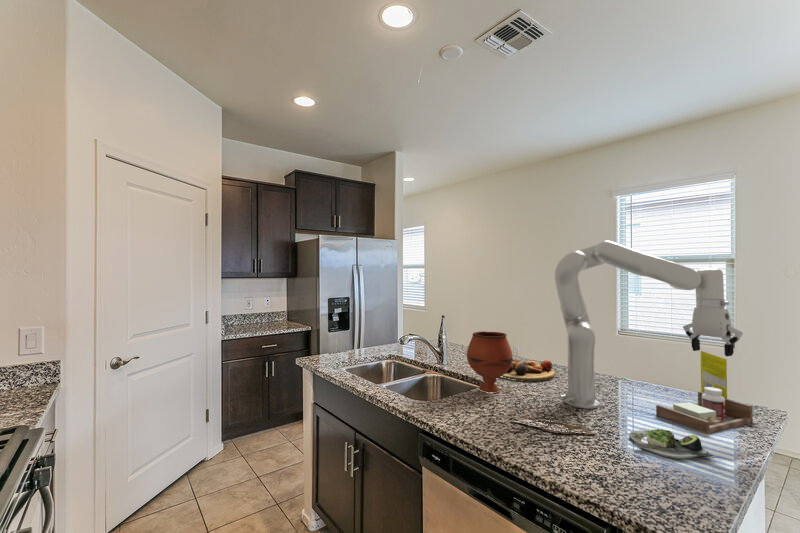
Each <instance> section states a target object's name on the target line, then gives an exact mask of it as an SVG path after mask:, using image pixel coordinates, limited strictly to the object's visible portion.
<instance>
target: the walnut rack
mask: <svg viewBox="0 0 800 533" xmlns="http://www.w3.org/2000/svg"><path fill="white" fill-rule="evenodd" d="M702 394H704V393H703V392H701V391H697V402H696V403H693V404H696V405H699V406H702ZM724 399H725V398H724ZM672 408H673V407H670V408H669V407H667V406H663V405H662V404H661V405H660V404H656V405H655V409H656V410H655V412H656V414H655V415H656V417H657V416H658V417H660V418H663V419H665V420H668V421H671V422H672V423H673V422H674V423H677V424H679V425H682V426H685V427H688V428H691V429H693V430H696V431H697V432H698V431H699V432H701V433H704V434H712V433H716V432H720V431H724V430H727V429H731V428H735V427H740V426H744V425H748V424H753V423H754V422H753V419H754V418H753V417H754V416H753V405H750V404H747V403H744V402H739V401H736V400H733V399H730V398H729V399H728V398H727V399H725V417H730V418H733V420H732V419H731V420H727V421H724V422H721V423H718V424H714V425H710V422H709V421H706V420H703V419H700V418H697V417H694V416H691V415H688V414H685V413H682V412H679V411H676V410H673V409H672Z"/></svg>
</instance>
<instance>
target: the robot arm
mask: <svg viewBox="0 0 800 533" xmlns="http://www.w3.org/2000/svg"><path fill="white" fill-rule="evenodd" d="M604 264H606V265H610V266H613V267H615V268H618V269H619V270H623V271H626V272H628V273H631V274H634V275H637V276H641V277H646V278H651V279H654V280H658V281H660V282H663V283H666V284H668V285H669V286H670V287H672V288H673V289H676V290H682V291H693V290H695V304H696V306H695V307H693V308H694V309H693V312H692V319H691V320H692V321H691V323H688V324H686V325H683V326H682V328H683V330H684V332H685V334H686V335H687V337H689V338H688V339H690V340H691V348H692V351H693V352H699V351H701V343H700V342H701V341H700V337H701V336H703V337H710V338H718V339H719V338H720V339H722V340H723V341H724V342H725V343H724V347H723V348H724V350H723V351H724V356H725V357H732V356H733V355H734V352H735V351H734V345H735V344H736V343H737V342H738V341H739V340H740V339H741V337H742V336H743V334H744V333H743V332H742V331H741V330H739V329H737V328H736V327H733V325H732V319H731V315H730V312H729V309H728V308H726V306H730V303H729V301H726V299H725V292H724V290H725V288H724V287H725V286H724V272H723V270H722V269H719V268H699V269H693V268H691V267H687V266H685V265H682V264H680V263H677V262H673V261H671V260H668V259H664V258H661V257H658V256H655V255H652V254H650V253H645V252H643V251H640V250H637V249H634V248H631V247H629V246H625V245H623V244H620V243H618V242H614V241H611V240H603V241H600V242H598V243H597V244H594V245H592V246H588V247H585V248H582V249H580V250H573V251H570V252H568V253H567V254H565V255H564V256H563V257H561V259H560V260H559V261H558V263H557V265H556V267H555V270H554V282H555V287H556V291H557V295H558V299H559V304H560V308H559V309H560V311H561V314H562V318H563V321H564V325H565V329H566V332H567V387H568V388H567V390H566V391H565V394H559V395H558V398H559V399H558V400H560V401H563V402H564V403H566V404H567V405H569V406H572V407H575V408H579V409H586V410H587V409H590V410H592V409H593V410H594V409H598V408H600V404H601V402H600V401H599V400H597V399H596V360H595V359H596V358H595V357H596V334H595V331H594V329H593V328H592V323H591V320H590V318H589V315H588V311H587V304H586V301H585V300H584V297H583V292H582V289H581V286H580V281H579V274H580V272H582V271H585V270H589V269H592V268H595V267H598V266H601V265H604ZM691 328H692V330H691ZM732 336H733V337H732Z"/></svg>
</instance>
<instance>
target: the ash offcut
mask: <svg viewBox="0 0 800 533" xmlns="http://www.w3.org/2000/svg"><path fill="white" fill-rule="evenodd" d="M671 408H672V409H673V407H671ZM673 410H676V409H673ZM676 411H679V410H676ZM679 412H681V411H679ZM682 413H684V412H682ZM685 414H687V413H685ZM688 415H689V414H688ZM691 416H692V415H691ZM694 417H695V416H694ZM697 418H698V417H697ZM700 419H703V420H706V421H709V422H710V421H712V420H714V419H716V416H712V417H704V418H700Z"/></svg>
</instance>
